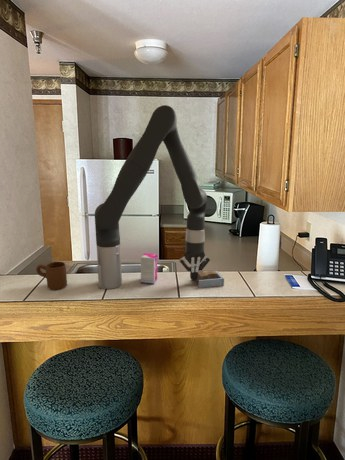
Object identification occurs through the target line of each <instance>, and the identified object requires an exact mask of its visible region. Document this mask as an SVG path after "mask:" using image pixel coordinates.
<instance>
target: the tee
mask: <svg viewBox="0 0 345 460" xmlns="http://www.w3.org/2000/svg"><path fill="white" fill-rule="evenodd" d="M215 271H216V270H209V271H208V270H207V271H204V270H200V271H198V278H197V279H196V281H197V283H198V284H199V280H206V279H217V273H216V272H215Z"/></svg>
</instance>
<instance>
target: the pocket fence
mask: <svg viewBox="0 0 345 460" xmlns="http://www.w3.org/2000/svg"><path fill="white" fill-rule="evenodd" d="M214 271H215V272H216V273H217V279H206V280H199V283H198V288H199V289H201V288H203V289H204V288H212V287H222V286H225V277H223V276H222V275H221V273H220V272H219V271H218V270H214Z"/></svg>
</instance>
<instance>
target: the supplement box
mask: <svg viewBox="0 0 345 460" xmlns="http://www.w3.org/2000/svg"><path fill="white" fill-rule="evenodd" d="M157 280H158V254H157V253H149V252H148V253H147V252H145V253H143V255H141V257H140V284H144V285H145V284H146V285H155V283H156V281H157Z"/></svg>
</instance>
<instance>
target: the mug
mask: <svg viewBox="0 0 345 460" xmlns="http://www.w3.org/2000/svg"><path fill="white" fill-rule="evenodd" d="M65 263H66V262H63V261H54V262H52V261H51V262H49V263H47V264H37V266H36V270H35V271H36V273H37V275H39V277H42V278H45V279H46V285H47V288H48V289H49V290H50V291H59V290H63V289H65V288H66V287H67V286H68V278H67V277H68V276H67V266H66V264H65ZM42 269H43V270H44V271H45V272H43V271H42Z"/></svg>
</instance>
